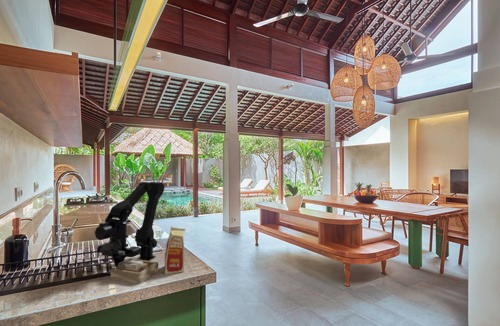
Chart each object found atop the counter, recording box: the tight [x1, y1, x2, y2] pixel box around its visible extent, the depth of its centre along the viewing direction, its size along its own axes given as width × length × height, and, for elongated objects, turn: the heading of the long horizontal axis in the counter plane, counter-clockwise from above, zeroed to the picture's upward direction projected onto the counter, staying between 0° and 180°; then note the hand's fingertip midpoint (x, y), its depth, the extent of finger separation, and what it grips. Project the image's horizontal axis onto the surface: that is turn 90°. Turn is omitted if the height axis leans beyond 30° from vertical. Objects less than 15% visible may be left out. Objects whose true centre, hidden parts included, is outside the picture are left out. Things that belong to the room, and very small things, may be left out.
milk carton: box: [164, 226, 186, 275], centre depth 123 cm, size 9×9×20 cm
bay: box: [110, 258, 159, 284], centre depth 115 cm, size 13×14×4 cm
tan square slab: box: [117, 258, 148, 273], centre depth 115 cm, size 8×10×5 cm
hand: (118, 268), depth 117 cm, fingers closed
